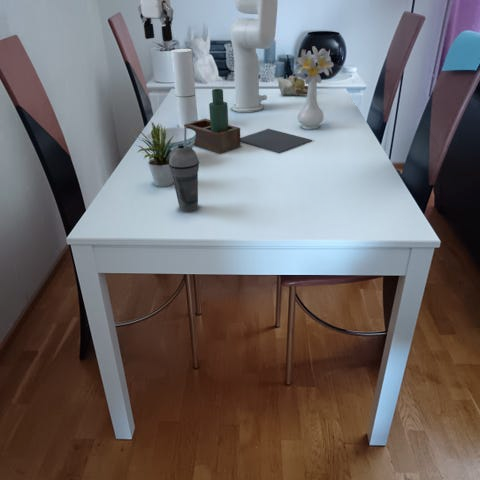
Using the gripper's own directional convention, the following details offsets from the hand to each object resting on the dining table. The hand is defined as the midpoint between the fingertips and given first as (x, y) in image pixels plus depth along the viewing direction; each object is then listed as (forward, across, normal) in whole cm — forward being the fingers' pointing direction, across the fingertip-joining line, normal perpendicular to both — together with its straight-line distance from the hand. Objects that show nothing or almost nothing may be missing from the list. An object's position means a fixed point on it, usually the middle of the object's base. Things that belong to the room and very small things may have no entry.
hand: (158, 39), depth 155 cm
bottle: (+30, -22, -5) cm, 38 cm away
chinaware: (+30, -20, +13) cm, 39 cm away
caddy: (+30, -18, -5) cm, 35 cm away
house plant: (+30, -33, +27) cm, 52 cm away
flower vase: (+30, -30, -41) cm, 59 cm away
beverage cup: (+30, -53, +32) cm, 69 cm away
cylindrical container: (+30, +6, -13) cm, 34 cm away
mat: (+30, -31, -21) cm, 48 cm away
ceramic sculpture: (+30, +8, -73) cm, 80 cm away
